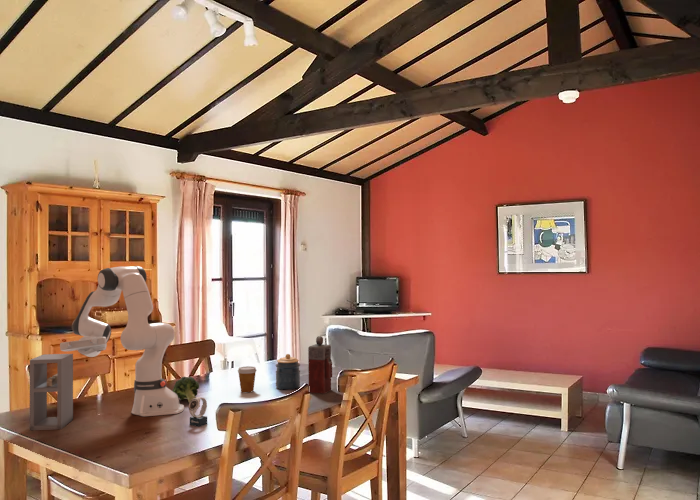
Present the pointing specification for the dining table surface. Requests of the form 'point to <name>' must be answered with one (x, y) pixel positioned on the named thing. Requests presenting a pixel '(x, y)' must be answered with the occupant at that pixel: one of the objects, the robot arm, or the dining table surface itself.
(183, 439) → the dining table surface
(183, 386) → the vegetable
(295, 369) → the canister
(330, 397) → the dining table surface
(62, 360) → the shelf stand
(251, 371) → the disposable coffee cup
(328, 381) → the red square decanter
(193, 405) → the watch
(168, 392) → the robot arm
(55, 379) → the slat
